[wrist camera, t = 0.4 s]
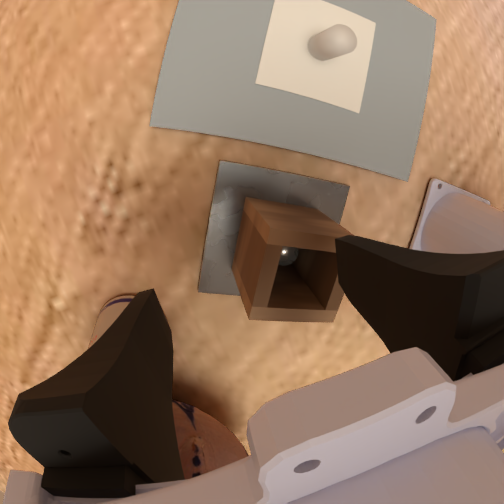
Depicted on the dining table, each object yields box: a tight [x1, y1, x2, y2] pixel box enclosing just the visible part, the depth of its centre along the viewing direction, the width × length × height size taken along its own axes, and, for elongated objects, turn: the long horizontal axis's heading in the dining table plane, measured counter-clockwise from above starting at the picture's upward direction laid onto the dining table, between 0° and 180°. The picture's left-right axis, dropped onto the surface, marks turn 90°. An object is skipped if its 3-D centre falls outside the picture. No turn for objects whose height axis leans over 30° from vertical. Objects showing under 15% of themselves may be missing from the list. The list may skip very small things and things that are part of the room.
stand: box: [198, 160, 350, 296], centre depth 21 cm, size 9×9×3 cm
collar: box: [232, 197, 354, 322], centre depth 19 cm, size 5×5×6 cm
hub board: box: [149, 0, 436, 182], centre depth 16 cm, size 18×14×4 cm
